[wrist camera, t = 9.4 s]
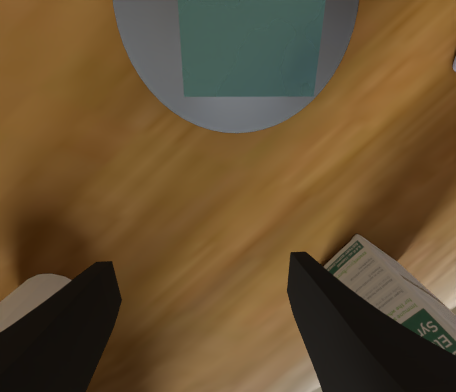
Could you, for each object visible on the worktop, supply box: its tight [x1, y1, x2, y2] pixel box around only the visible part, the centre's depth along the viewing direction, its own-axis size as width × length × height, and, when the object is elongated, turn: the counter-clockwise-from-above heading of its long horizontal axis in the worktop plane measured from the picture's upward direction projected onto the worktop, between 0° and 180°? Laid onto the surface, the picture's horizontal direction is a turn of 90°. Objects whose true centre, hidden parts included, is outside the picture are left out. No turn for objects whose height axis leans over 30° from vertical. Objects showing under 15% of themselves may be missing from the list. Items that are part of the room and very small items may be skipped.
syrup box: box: [323, 234, 456, 355], centre depth 16 cm, size 6×6×14 cm
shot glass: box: [0, 274, 72, 332], centre depth 19 cm, size 7×7×7 cm
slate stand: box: [113, 0, 359, 133], centre depth 14 cm, size 13×13×2 cm
